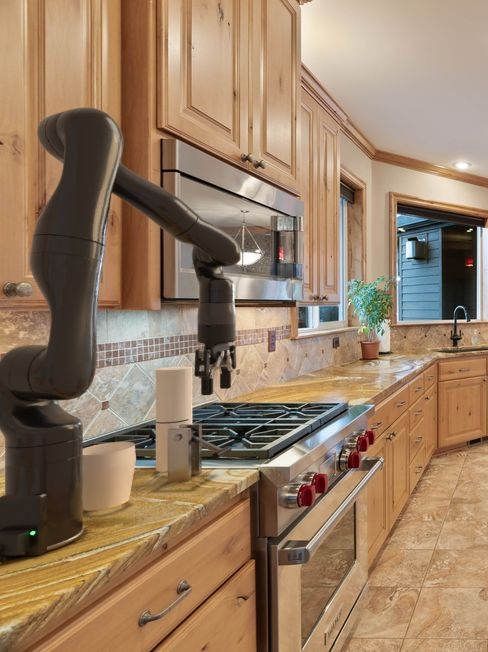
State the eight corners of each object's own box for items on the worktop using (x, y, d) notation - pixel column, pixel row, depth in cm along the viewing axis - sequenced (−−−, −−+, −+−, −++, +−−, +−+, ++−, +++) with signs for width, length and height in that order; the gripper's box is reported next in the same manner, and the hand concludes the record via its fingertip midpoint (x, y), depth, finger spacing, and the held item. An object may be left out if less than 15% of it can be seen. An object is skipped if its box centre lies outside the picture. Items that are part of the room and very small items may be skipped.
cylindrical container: (148, 475, 109) (148, 369, 109) (177, 465, 116) (177, 365, 116) (170, 478, 107) (170, 370, 107) (199, 468, 114) (199, 367, 114)
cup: (91, 502, 94) (91, 443, 94) (144, 497, 97) (144, 440, 96) (63, 522, 85) (63, 457, 85) (122, 515, 88) (122, 452, 88)
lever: (228, 454, 108) (233, 445, 108) (215, 462, 102) (221, 452, 102) (184, 433, 107) (189, 424, 107) (168, 439, 101) (174, 430, 102)
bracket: (214, 475, 109) (214, 421, 109) (191, 490, 100) (191, 431, 100) (178, 476, 109) (178, 422, 108) (152, 491, 100) (152, 432, 100)
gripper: (215, 321, 115) (214, 387, 115) (181, 323, 101) (181, 397, 101) (247, 321, 116) (247, 386, 116) (219, 323, 102) (218, 397, 102)
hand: (216, 391), depth 108 cm, fingers open, 8 cm apart
